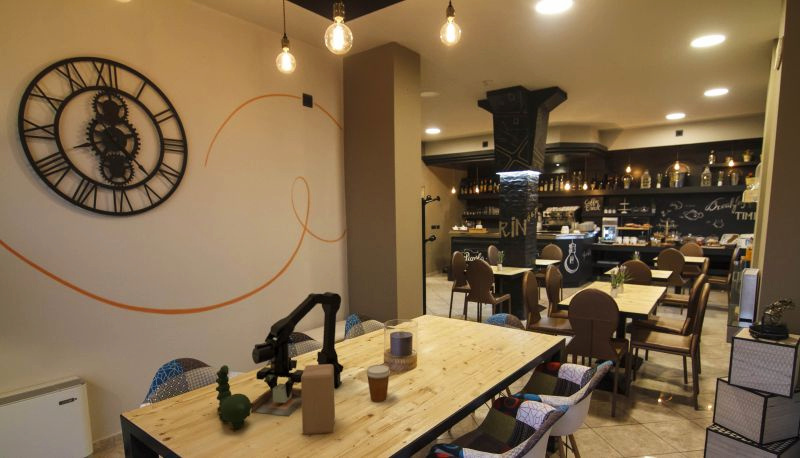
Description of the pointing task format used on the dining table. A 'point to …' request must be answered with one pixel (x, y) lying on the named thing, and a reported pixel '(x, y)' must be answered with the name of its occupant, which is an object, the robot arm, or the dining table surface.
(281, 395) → the cube
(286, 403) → the arena
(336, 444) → the dining table surface
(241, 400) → the toy figurine
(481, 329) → the dining table surface
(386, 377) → the disposable coffee cup
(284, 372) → the robot arm
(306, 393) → the wooden block
